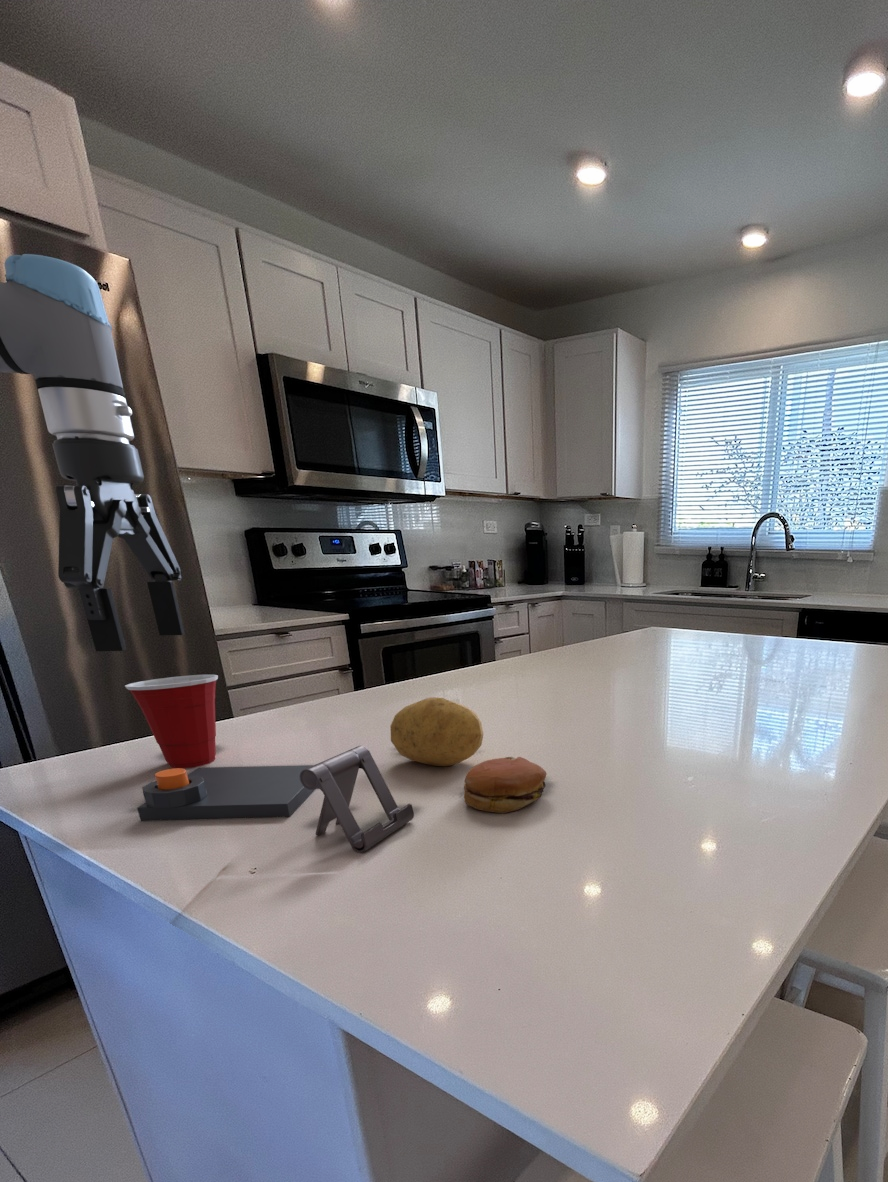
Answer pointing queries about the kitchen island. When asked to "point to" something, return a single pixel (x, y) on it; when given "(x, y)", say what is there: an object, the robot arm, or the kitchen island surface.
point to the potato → (436, 732)
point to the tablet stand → (338, 788)
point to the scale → (228, 794)
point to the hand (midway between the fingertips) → (144, 642)
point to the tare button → (172, 778)
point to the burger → (504, 784)
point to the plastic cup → (180, 717)
